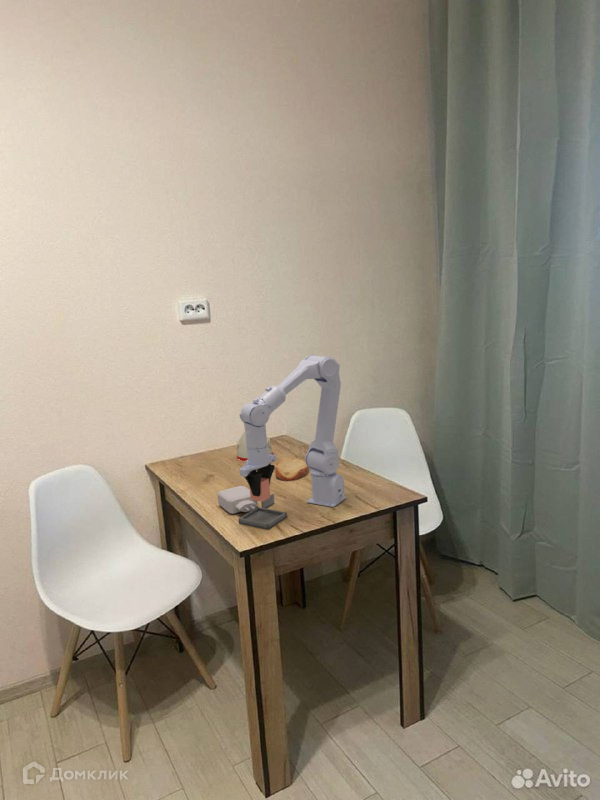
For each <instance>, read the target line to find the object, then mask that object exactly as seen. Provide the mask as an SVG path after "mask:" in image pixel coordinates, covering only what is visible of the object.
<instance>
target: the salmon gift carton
mask: <svg viewBox="0 0 600 800" xmlns="http://www.w3.org/2000/svg"><path fill="white" fill-rule="evenodd" d="M249 490H250V497H251V500H256V501H257V502H261V501H262V502H263V501H265V500H266V499H268V498H270V495H271V492H270V491H271V489H270V486H269V479H267V478H261V483H260V496H253V494H252V491H251V489H250V488H249Z"/></svg>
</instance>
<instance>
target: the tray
mask: <svg viewBox="0 0 600 800" xmlns="http://www.w3.org/2000/svg"><path fill="white" fill-rule="evenodd" d="M261 507H262V506H257V507H256V508H255V509H254V510H252V511H248V512H246V514H243V515H242V516H240V517H239V518H238V524H240V525H244V526H249V527H253V528H257V529H263V530H266V531H267V530H271V529H272V528H273V527H276V525H278V524H280V523H281V522H282V521H284V520H286V519H287V518H288V512H287V511H286V512H285V511H281V510H275V509H271V508H261Z"/></svg>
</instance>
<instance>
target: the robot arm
mask: <svg viewBox="0 0 600 800" xmlns="http://www.w3.org/2000/svg"><path fill="white" fill-rule="evenodd" d="M312 379H313V380H315V382H316V383H317V384H318V385H319V387H320V388H321V391H320V398H319V406H318V407H319V408H318V413H317V421H316V422H317V423H316V430H315V437H314V440H313V441H311V442H310V444H309V447H308V450H307V452H306V454H305V456H304V461H305V463H306V465H307V466H308V467H309V472H310V482H311V483H310V484H311V495H312V496H311V497H310V498H309V499H307V500H306V503H308V504H313V505H320V506H324V507H325V506H326V507H330V508H334V507H336V506H337V505H339V504H340V503H341V502H343V501H344V500H345V499H347V496H345V495H346V494H345V480H344V476H343V475H342V474H339V473H337V470H338V469H339V467H340V460H339V449H338V447H337V446H336V444H335V443H334V438H335V432H336V431H335V430H336V424H337V415H338V408H339V400H340V394H341V393H340V392H341V385H342V382H341V378H340V364H339V363H338V361H337V360H336V359H335V358H334V357H332V356H322V355H315V354H309V355H307V356H306V357H305V358H304V359H302V360H300V361H299V364H298V365H297V367H296V368H294V369H293V370H292V371H291V372H290V373H289V374H288V375H287V376H286V377H285V379H283V380H282V381H281V382H280V383H279V384H278V385H270V386H268V385H267V387H265V389H264V390H265V391H264V392H263V393H261V394H260V395H259V396H258V397H255V398H253V400H252V402H249V403H246V404H244V406H243V407H242V408H241V411H240V413H239V415H238V416H239V418H240V420H241V422H242V423H243V425H244V426H243V427H244V432H245V435H246V447H247V458H248V460H246V461H245V462H244V463H245V464H244V465H243V466H242V467H241V468H238V469H239V476H240V477H243V478H244V479H245V480H246V482H247V484H248V486H249V490H250V489H251V491H252V494H253V496H260V483H261V478H267V479H269V487H270V485H271V480H272V476H273V473H274V471H275V470H276V468H275V467H276V465H274V464H271V463H276V462H277V455H276V454H274V453H273V454H269V455H268V450H267V438H268V437H267V438H266V436H267V429H266V424H267V423H268V422H269V419H270V416H271V414H272V413H273V412H274V411H275V410H277V409H278V408H279V407H281V406H282V405H283V404H284V402H286V399H287V398H286V397H287V395H288V394H290V392H292V391H293V390H294V389H296V388H297V387H298V386H299V385H301V384H302V383H303V382H305V381H306V380H312Z"/></svg>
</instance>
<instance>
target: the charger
mask: <svg viewBox="0 0 600 800" xmlns="http://www.w3.org/2000/svg"><path fill="white" fill-rule="evenodd" d="M217 504H218V505H219V506H221V507H222V508H223V509H224V510H225V511H227V512H228V513H229V514H232V515H233V514H238V513H242V512H243V513H249V512H250V511H252V510H254V509H255V508H257V507H258V506H259V505H258V501H256V500H251V497H250V488H248V487H246V486H245V485H239V486H235V487H234V486H233V487H230V488H227V489H221V490H220V491H218V492H217Z"/></svg>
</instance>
